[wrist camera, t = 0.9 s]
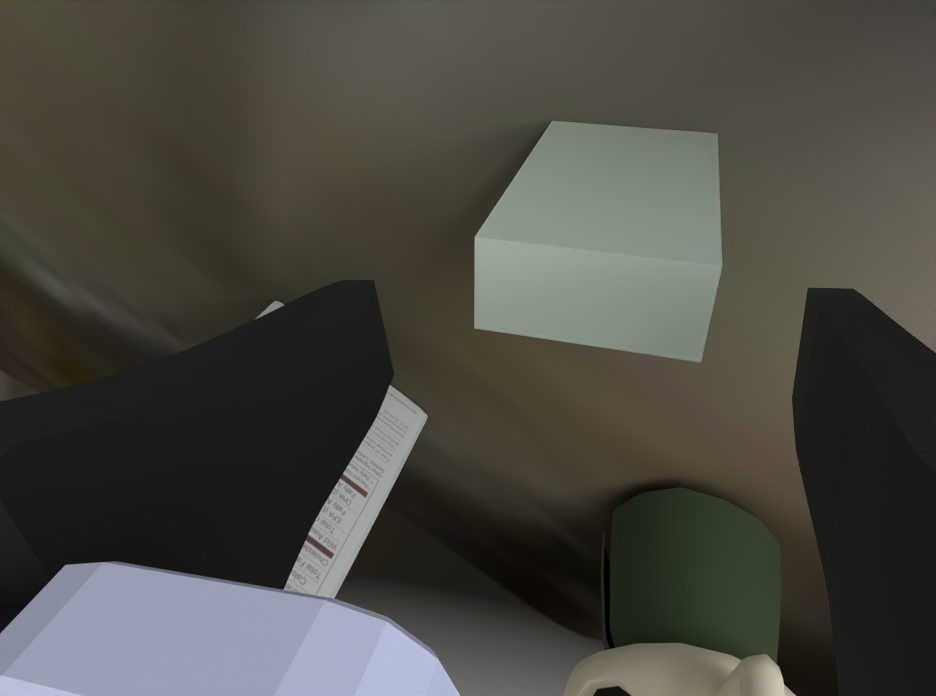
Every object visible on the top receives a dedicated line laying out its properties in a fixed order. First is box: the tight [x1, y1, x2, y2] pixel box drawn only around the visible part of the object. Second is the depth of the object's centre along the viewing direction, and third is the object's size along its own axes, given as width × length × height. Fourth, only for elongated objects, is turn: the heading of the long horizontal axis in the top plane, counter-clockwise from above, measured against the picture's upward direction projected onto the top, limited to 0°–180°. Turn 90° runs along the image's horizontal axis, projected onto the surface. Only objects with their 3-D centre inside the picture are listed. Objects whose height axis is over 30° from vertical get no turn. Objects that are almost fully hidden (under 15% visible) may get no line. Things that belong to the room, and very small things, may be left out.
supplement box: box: [256, 301, 428, 598], centre depth 23 cm, size 7×7×13 cm
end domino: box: [474, 121, 722, 362], centre depth 16 cm, size 4×2×8 cm, turn 90°
